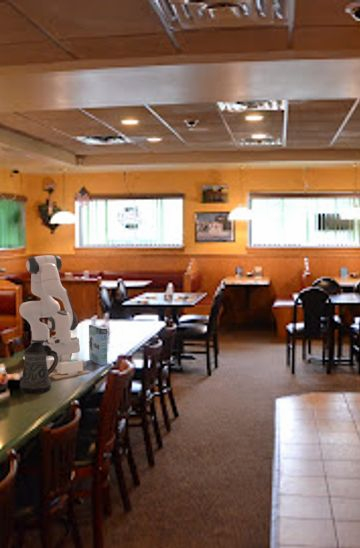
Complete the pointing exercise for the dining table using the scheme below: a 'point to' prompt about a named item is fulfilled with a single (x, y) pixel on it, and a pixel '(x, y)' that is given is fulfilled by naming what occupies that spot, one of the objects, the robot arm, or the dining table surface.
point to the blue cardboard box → (98, 344)
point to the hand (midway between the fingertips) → (64, 361)
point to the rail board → (66, 368)
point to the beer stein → (37, 369)
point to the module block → (64, 357)
